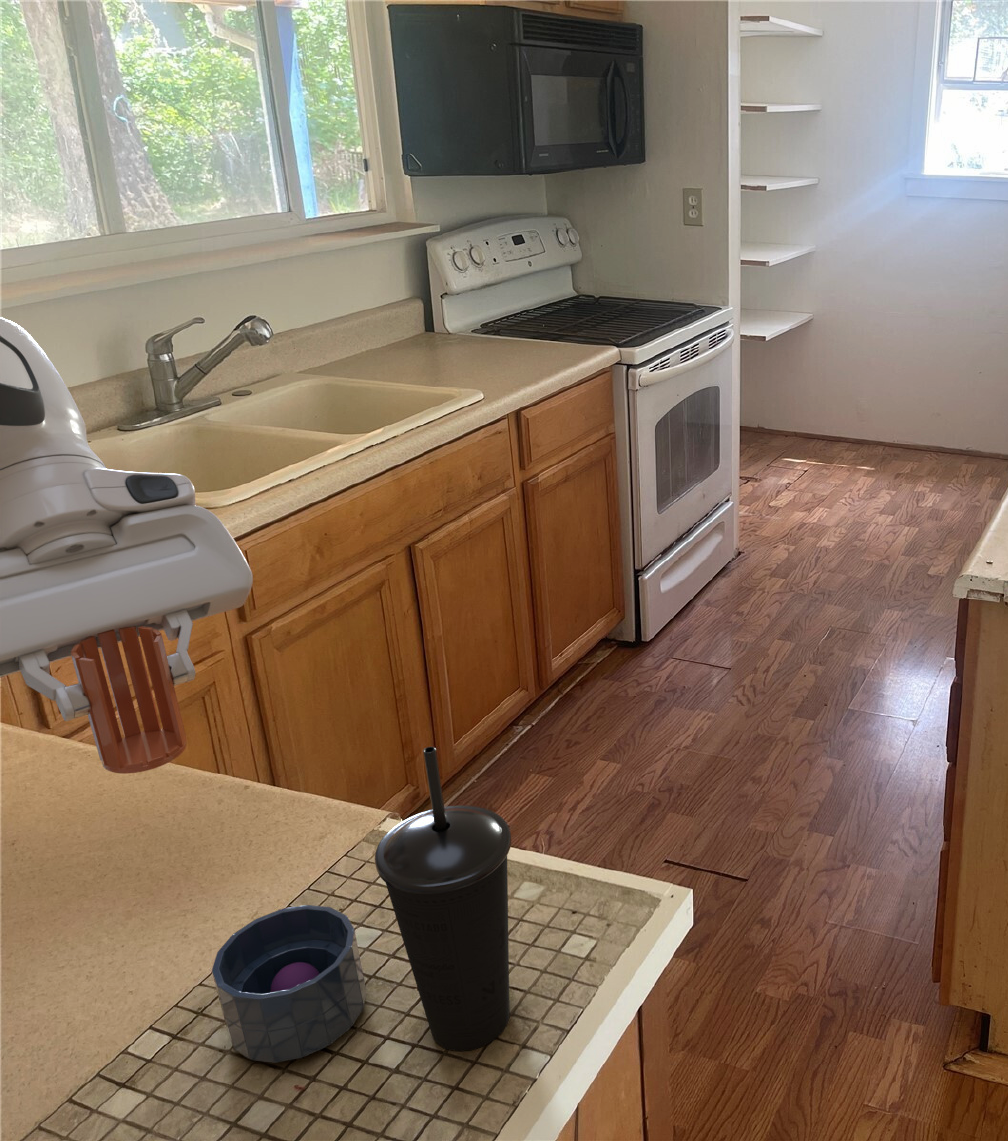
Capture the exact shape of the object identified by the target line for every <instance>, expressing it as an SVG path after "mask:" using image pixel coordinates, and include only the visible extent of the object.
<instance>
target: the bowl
mask: <svg viewBox="0 0 1008 1141" xmlns="http://www.w3.org/2000/svg"><path fill="white" fill-rule="evenodd" d="M359 951H360V950H359V946H358V942H357V936H356V930H355V928H354V926H353V924H352V922H351V921H350V919H349V917H348V916H347V915H346V914H345V913H343V912H341V911H338V910H336V909H334V908H333V907H331V906H322V905H315V904H314V905H313V904H312V905H311V904H305V905H298V906H291V907H286V908H285V907H284V908H280V909H278V910H275V911H273V912H270V913H267V914H264V915H262V916H260V917H257V918H255V919H253V920H252V921H250V922H249V923H247V924H245V925H244V926H243V927H242V928H239V929H238V930H237V931H235V932H234V933H233V934H231V935H230V937H229V938H228V939H226V941H225V942H224V944H222V946H221V947H220V948H219V949H218V950H217V952H216V955H215V958H214V962H213V964H212V968H211V974H212V977H213V981H214V982H213V983H214V985H215V989H216V993H217V997H218V1000H219V1004H220V1007H221V1012H222V1016H223V1019H224V1024H225V1027H226V1030H227V1034H228V1036H229V1037H228V1038H229V1039H230V1041H231V1045H232V1048H233V1049H234V1051H236V1052H237V1053H239V1054H240V1055H242V1056H244V1057H245V1058H247V1059H248V1060H249V1061H250V1060H251V1061H256V1062H257V1061H258V1062H264V1063H265V1062H266V1063H273V1064H274V1063H282V1062H288V1061H292V1060H297V1059H303V1058H305V1057H307V1056H309V1055H311V1054H314V1053H316V1052H318V1051H320V1050H322V1049H324V1048H326V1047H328V1046H330V1045H332V1044H333V1043H334V1042H336V1041H338V1039H339V1038H340V1037H342V1036H343V1035H344V1034H345V1033H346V1032H348V1031H349V1030H350V1029H352V1028H353V1026H354V1024H355V1023H356V1021H357V1019H358V1018H359V1017H360V1014H361V1013H362V1011H363V1010H364V1008H365V1005H366V1004H365V1003H366V996H367V995H366V994H367V986H366V982H365V977H364V971H363V966H362V962H361V955H360V952H359ZM297 962H303V963H307V964H310V965H312V966H313V967H315V968H316V969H317V970H318V972H319V973H320V974H319V975H318V976H316V977H315V978H314V979H312V980H309V981H307V982H305V983H302V984H300V985H298V986H295V987H293V988H291V989H289V990H283V991H278V992H272V993H271V992H270V990H271V984H272V981H273V979H274V977H275V976H276V974H277V973H278V972H279V971H280V970H281V969H282V968H284V967H285V966H287V965H289V964H292V963H297Z"/></svg>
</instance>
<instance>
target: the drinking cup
mask: <svg viewBox="0 0 1008 1141" xmlns="http://www.w3.org/2000/svg"><path fill="white" fill-rule="evenodd" d="M422 754H423V760H424V766H425V771H426V772H425V773H426V778H427V784H428V785H427V786H428V790H429V792H428V793H429V798H430V804H431V805H430V806H431V809H429V810H425V811H422V812H419V813H417V814H415V815H414V814H413V815H412V816H410V817H408V818H406V819H404V820H403V821H401V822H399V823H398V824H396V825H395V826H393V827H392V828H391V829H390V830H389V831H387V833H386V834H385V835H384V836H383V837H382V839H380V841H379V843H378V845H377V847H376V850H375V853H374V865H375V869H376V873H377V875H378V876H379V877H380V879H381V880H382V881H383V882H384V883H385V887H386V889H387V893H388V896H389V899H390V902H391V906H392V908H393V913H394V915H395V918H396V922H397V925H398V930H399V932H400V934H401V938H402V942H403V945H404V949H405V951H406V955H407V958H408V961H409V965H410V967H411V971H412V974H413V975H412V976H413V978H414V981H415V985H416V988H417V991H418V994H419V998H420V1001H421V1004H422V1007H423V1011H424V1014H425V1017H426V1021H427V1024H428V1027H429V1031H430V1034H431V1037H432V1038H433V1040H434V1042H436V1044H437V1045H438V1046H440V1047H442V1048H444V1049H446V1050H448V1051H452V1052H453V1051H454V1052H468V1051H472V1050H476V1049H480V1048H482V1047H485V1046H486V1045H489V1044H490V1043H492V1042H493V1041H495V1040H496V1039H497V1038H498V1037H500V1035H501V1034H502V1033H503V1032H504V1030H505V1029H506V1027H507V1025H508V1023H509V1020H510V961H509V960H510V956H509V955H510V953H509V951H510V950H509V946H510V945H509V883H508V882H509V881H508V877H509V876H508V854H509V853H510V850H511V846H512V832H511V829H510V826H509V824H508V823H507V822H506V820H505V819H504V818H503V816H500V814H498V813H497V812H494V811H492V810H490V809H487V808H484V807H481V806H480V807H479V806H475V805H463V804H462V805H460V804H459V805H447V806H445V802H444V796H443V789H442V781H441V775H440V774H441V773H440V769H439V768H440V767H439V760H438V755H437V749H436V747H435V746H427V747H425V748H424V749H423V751H422Z"/></svg>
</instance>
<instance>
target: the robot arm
mask: <svg viewBox="0 0 1008 1141" xmlns="http://www.w3.org/2000/svg"><path fill="white" fill-rule="evenodd" d="M240 548H241V547H240V546H238V544H237V542H236V540H235V539H234V537H233V536H232V534H231V533H230V531H229V530H228V528H227V527H226V526H225V524H224V522H222V520H221V519H220V518H219V517H218V516H217V515H216V514H215V513H213V512H212V511H210V510H209V509H207V508H205V507H202V506H201V505H200V506H199V505H196V489H195V486H194V485H193V482H192V481H191V479H190V478H189V477H187V476H186V475H184V474H179V473H162V472H159V473H158V472H140V471H139V472H138V471H125V470H116V469H109V468H107V467H106V465H105V463H104V462H103V460H102V459H100V457H99V456H98V455H97V454H96V453H95V452H94V451H93V449H92V448H91V447H90V445H89V442H88V437H87V426H86V422H85V420H84V418H83V415H82V413H81V411H80V410H79V407H78V405H77V403H76V401H75V400H74V398H73V395H72V394H71V392H70V390H69V387H68V386H67V384H66V382H65V381H64V380H63V378H62V376H61V374H60V373H59V371H58V370H57V368H56V367H55V365H54V364H53V362H52V361H51V359H50V358H49V357H48V355H47V353H45V351H44V349H42V347H41V346H40V345H39V344H38V343H37V341H36V340H35V339H34V338H33V337H32V336H31V334H29V332H27V330H25V329H24V328H23V327H22V326H20V325H18V324H17V323H15V322H13V321H11V320H9V319H7V318H4V317H2V316H0V678H3V677H7V676H10V675H13V674H17V673H21V675H22V677H23V680H24V682H25V684H26V686H28V687H30V688H31V689H32V690H34V691H36V692H37V693H39V694H41V695H43V696H44V697H46V698H47V699H49V700H51V701H55V703H56V705H57V708H58V710H59V712H60V714H61V716H62V719H63V720H64V722H69V721H73V720H75V719H79V718H81V717H85V716H88V714H89V710H91V706H90V703H89V700H88V698H87V697H86V696H84V691H83V689H82V686H81V684H80V683H79V682H78V683H74V684H71V685H68V686H67V685H66V684H65V683H63V682H61V681H60V680H58V679H57V678H55V677H54V676H53V675H51V674H50V673H51V672H50V670H51V669H50V668H51V663H54V662H58V661H62V660H64V659H68V658H72V657H71V650H72V649H73V647H74V646H75V645H76V644H80V643H79V642H80V641H82V640H84V639H86V638H88V637H89V636H95V640H96V643H97V647H98V650H99V649H101V647H100V643H99V639H98V635H97V634H99V633H102V632H106V631H109V630H113V629H114V631H115V635H116V638H117V642H118V644H120V643H122V641H121V637H120V633H119V628H122V627H132V626H136V630H137V634H138V638H140V634H139V630H138V628H139V627H141V626H144V627H151V628H153V630H155V629H157V630H158V631H159V632H161V631H164V633H165V635H166V638H167V640H168V641H170V642H173V641H177V644H176V649H175V653H172V654H169V655H167V659H168V663H169V668H170V673H171V677H172V681H173V684H174V687H175V686H178V685H181V684H182V685H183V684H185V683H189V682H191V681H194V680H195V678H196V675H197V674H196V669H195V666H194V663H193V662H192V660H191V657H190V655H189V653H188V651H189V645H190V640H191V636H192V630H193V625H194V622H196V621H199V620H201V619H205V618H209V617H211V616H215V615H219V614H222V613H225V612H229V611H233V610H236V609H239V608H241V607H243V606H244V605H245V603H246V601H247V600H248V597H249V595H250V593H251V590H252V587H253V584H254V583H253V582H254V575H253V571H252V569H251V567H250V565H249V562H248V561H247V559H246V557H245V555H244V554H243V552H242V550H241V549H240Z"/></svg>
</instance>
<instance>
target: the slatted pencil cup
mask: <svg viewBox="0 0 1008 1141" xmlns="http://www.w3.org/2000/svg"><path fill="white" fill-rule="evenodd" d="M138 630H139V634H140V637H138V634H137V630H136V626H132V627H122V628H119V633H120V637H121V641H122V642H121V645H122V650H123V653H124V656H125V657H124V658H125V660H126V664H127V667H128V668H127V669H128V672H129V676H130V680H131V683H132V688H133V692H134V695H135V696H134V697H135V699H136V704H137V708H138V711H139V716H140V719H141V723H142V726H143V730H142V731H141V728H140V724H139V720H138V716H137V712H136V708H135V705H134V701H133V697H132V693H131V688H130V686H129V685H130V684H129V682H128V677H127V674H126V670H125V665H124V662H123V658H122V654H121V651H120V646H119V643H118V642H117V638H116V635H115V631H114V629H113V630H109V631H106V632H102V633H99V634H97V635H98V639H99V643H100V647H101V648H100V650H101V654H102V657H103V661H104V665H105V670H106V672H105V670H104V666H103V663H102V662H103V661H102V659H101V655H100V650H99V649H98V647H97V643H96V640H95V636H89V637H88V638H86V639H84V640H82V641H80V642H79V643H80V644H76V645H75V646H74V647H73V649H72V650H71V657H70V658H71V661H72V663H73V668H74V671H75V675H76V678H77V682H78V683H80V684H81V686H82V689H83V691H84V696H86V697H87V698H88V700H89V703H90V706H91V710H89V714H88V715H87V718H88V721H89V725H90V728H91V732H92V736H93V739H94V743H95V747H96V750H97V753H98V754H97V755H98V758H99V760H100V762H101V765H102V767H103V768H104V769H105V770H106V771H108V772H111V773H115V774H126V775H127V774H137V773H142V772H146V771H150V770H154V769H157V768H159V767H162V766H165V765H167V764H169V763H170V762H172V761H174V760H176V759H177V758H178V757H180V756H181V755H183V752H185V750H186V749H187V745H188V741H187V734H186V731H185V726H184V722H183V718H182V714H181V709H180V706H179V700H178V697H177V693H176V689H175V686H174V684H173V681H172V677H171V673H170V668H169V663H168V659H167V656H168V655H167V651H166V647H165V643H164V638H163V635H162V632H161V631H158V630H157V629H155V630H153V628H151V627H144V626H141V627H139V628H138ZM140 641H141V643H140ZM141 646H142V647H141ZM142 650H143V651H142ZM143 654H144V655H143ZM144 657H145V658H144ZM145 662H146V663H145ZM146 665H147V667H146ZM147 670H148V671H147ZM105 673H107V677H108V680H109V684H110V689H111V691H112V696H113V699H114V703H115V707H116V710H115V707H114V704H113V700H112V697H111V693H110V689H109V686H108V682H107V677H106V674H105ZM149 677H150V678H149ZM150 682H151V683H150ZM152 689H153V691H152ZM154 698H155V699H154ZM155 701H156V703H155ZM156 706H157V707H156ZM157 710H158V711H157ZM115 711H117V714H118V718H119V722H120V726H121V730H122V733H123V737H122V734H121V730H120V726H119V723H118V719H117V715H116V712H115ZM158 714H159V715H158ZM159 718H160V719H159ZM161 726H162V728H161Z"/></svg>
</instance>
